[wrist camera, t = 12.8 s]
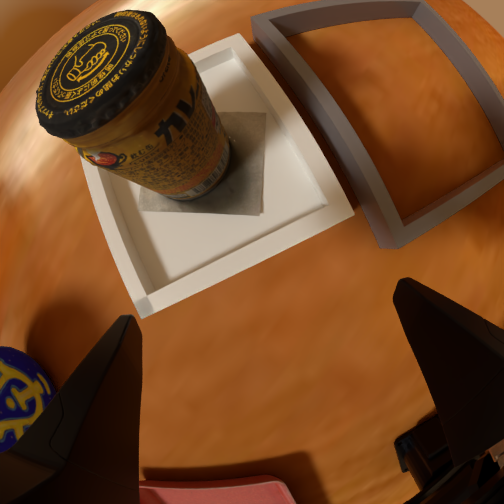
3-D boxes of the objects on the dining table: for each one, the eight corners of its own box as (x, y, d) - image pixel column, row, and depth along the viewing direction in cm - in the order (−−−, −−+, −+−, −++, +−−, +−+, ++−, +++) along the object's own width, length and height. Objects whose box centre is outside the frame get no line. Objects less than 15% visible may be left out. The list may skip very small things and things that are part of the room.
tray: (344, 218, 18) (355, 214, 15) (156, 310, 19) (141, 319, 16) (242, 51, 18) (239, 33, 15) (90, 138, 19) (74, 129, 17)
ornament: (89, 418, 20) (5, 494, 5) (53, 426, 21) (-16, 481, 6) (35, 326, 20) (-74, 364, 5) (8, 350, 21) (-74, 383, 6)
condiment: (153, 117, 18) (57, 24, 6) (266, 113, 17) (255, -28, 5) (139, 211, 18) (-2, 181, 6) (259, 216, 17) (231, 159, 5)
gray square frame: (513, 163, 16) (531, 157, 13) (379, 248, 18) (397, 248, 15) (411, 11, 16) (420, -4, 13) (253, 39, 18) (250, 16, 15)
